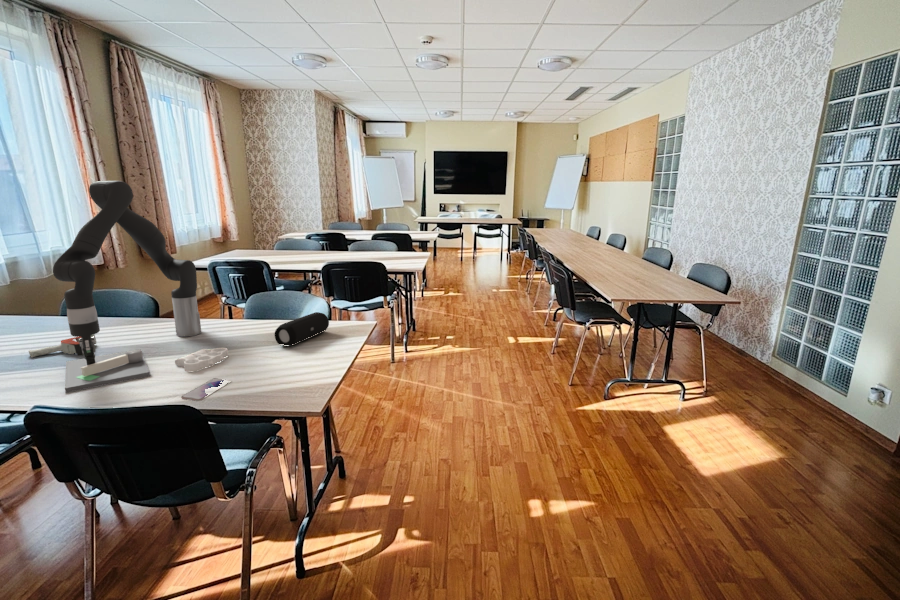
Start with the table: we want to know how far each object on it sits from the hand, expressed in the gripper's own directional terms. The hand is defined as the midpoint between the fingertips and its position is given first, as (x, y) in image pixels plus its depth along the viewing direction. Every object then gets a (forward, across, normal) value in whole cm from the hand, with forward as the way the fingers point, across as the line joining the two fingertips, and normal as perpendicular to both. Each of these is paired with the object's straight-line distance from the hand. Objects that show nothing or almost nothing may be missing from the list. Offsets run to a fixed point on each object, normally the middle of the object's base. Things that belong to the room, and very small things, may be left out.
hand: (92, 368), depth 148 cm
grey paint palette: (+3, -8, -32) cm, 33 cm away
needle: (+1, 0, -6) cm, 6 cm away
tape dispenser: (+4, +34, +6) cm, 35 cm away
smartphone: (+3, -34, -28) cm, 44 cm away
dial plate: (+3, +3, -4) cm, 5 cm away
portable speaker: (+3, -3, -72) cm, 72 cm away
